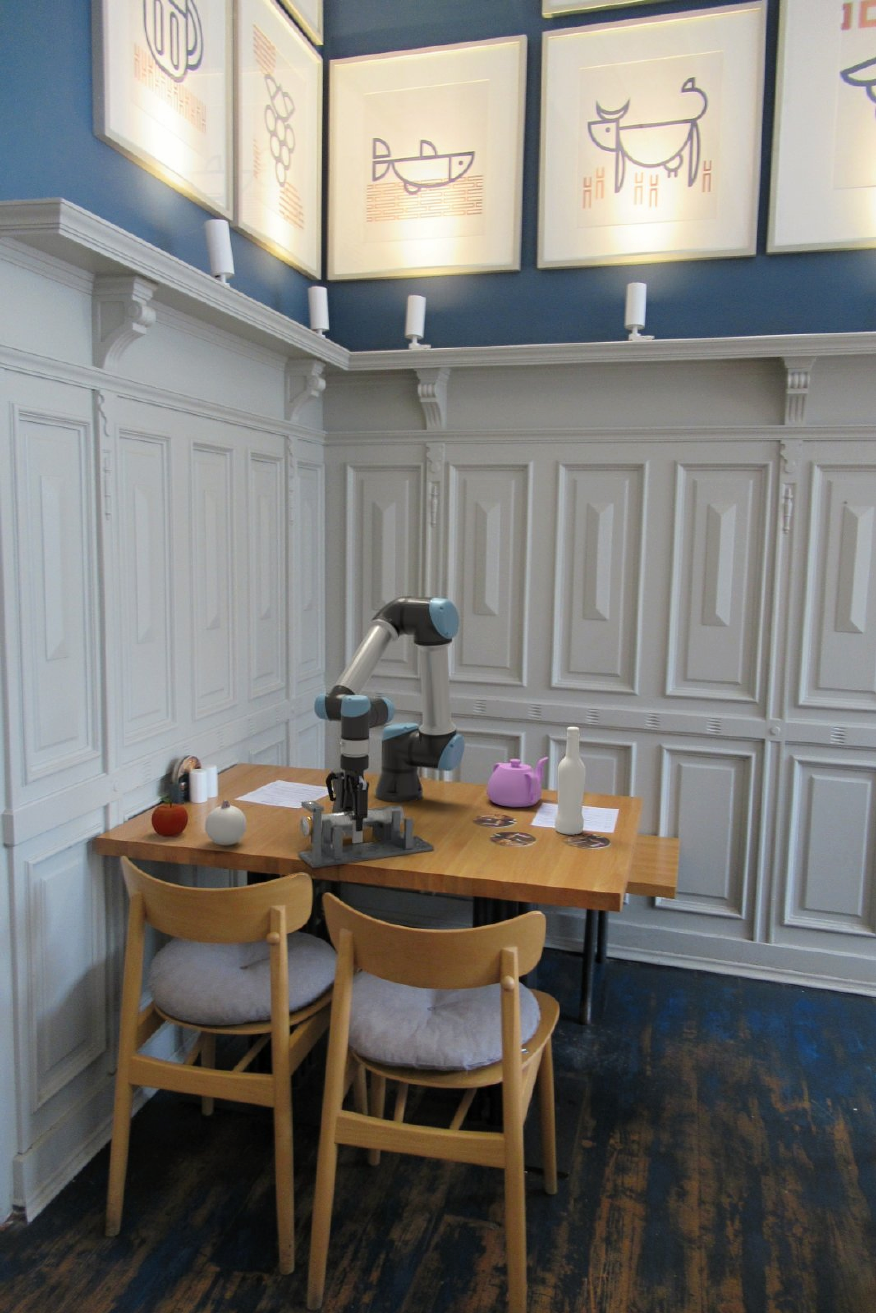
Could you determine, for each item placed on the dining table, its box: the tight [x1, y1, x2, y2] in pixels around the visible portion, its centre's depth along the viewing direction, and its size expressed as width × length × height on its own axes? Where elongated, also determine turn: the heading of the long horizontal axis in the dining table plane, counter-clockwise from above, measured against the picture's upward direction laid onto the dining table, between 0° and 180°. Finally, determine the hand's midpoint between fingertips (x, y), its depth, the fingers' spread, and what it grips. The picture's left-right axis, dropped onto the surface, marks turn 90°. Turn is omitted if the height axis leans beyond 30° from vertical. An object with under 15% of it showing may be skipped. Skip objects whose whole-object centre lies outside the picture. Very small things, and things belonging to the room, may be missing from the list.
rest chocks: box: [310, 822, 392, 846], centre depth 254 cm, size 21×8×5 cm, turn 120°
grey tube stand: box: [297, 800, 435, 869], centre depth 244 cm, size 35×10×15 cm, turn 120°
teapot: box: [486, 756, 549, 809], centre depth 300 cm, size 22×22×14 cm
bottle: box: [554, 726, 587, 836], centre depth 269 cm, size 8×8×30 cm
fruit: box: [150, 797, 189, 838], centre depth 256 cm, size 10×10×10 cm
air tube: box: [300, 804, 405, 837], centre depth 254 cm, size 28×5×5 cm, turn 120°
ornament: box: [204, 799, 248, 846], centre depth 249 cm, size 10×10×12 cm
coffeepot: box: [325, 767, 365, 813], centre depth 271 cm, size 15×9×18 cm, turn 145°
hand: (352, 839), depth 254 cm, fingers closed on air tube, 5 cm apart
